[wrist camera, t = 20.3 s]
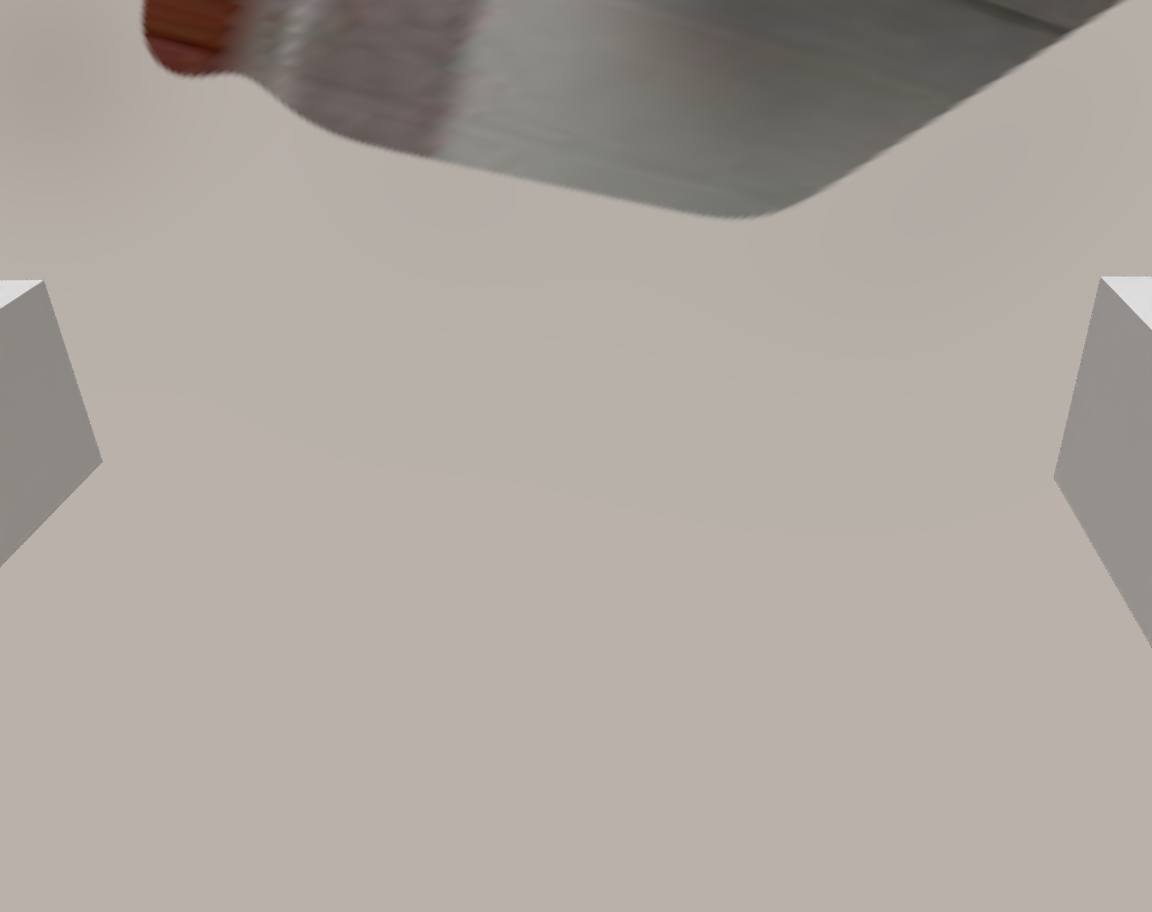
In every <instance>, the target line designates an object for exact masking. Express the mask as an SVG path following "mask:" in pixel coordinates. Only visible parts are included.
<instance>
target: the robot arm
mask: <svg viewBox="0 0 1152 912" xmlns="http://www.w3.org/2000/svg"><path fill="white" fill-rule="evenodd" d="M101 463H102V458H101V455H100V452H99V449H98V446H97V443H96V440H95V437H94V434H93V431H92V428H91V424H90V421H89V418H88V415H87V412H86V409H85V406H84V403H83V400H82V397H81V394H80V391H79V387H78V384H77V381H76V378H75V375H74V372H73V369H72V366H71V363H70V360H69V356H68V353H67V350H66V347H65V344H64V341H63V338H62V335H61V332H60V329H59V326H58V322H57V319H56V317H55V313H54V310H53V307H52V304H51V301H50V298H49V295H48V292H47V289H46V286H45V283H44V280H0V567H1V566H2V565H3V564H4V563H5V562H6V561H7V560H8V558H9V557H10V556H11V555H12V554H13V553H14V552H15V551H16V550H17V549H18V548H19V547H20V546H21V545H22V544H23V543H24V542H25V541H26V540H27V539H28V538H29V537H30V536H31V535H32V534H33V533H34V532H35V531H36V530H37V529H38V528H39V526H41V525H42V524H43V522H44V521H45V520H46V519H47V518H48V517H49V516H50V515H51V514H52V513H53V512H54V511H55V510H56V509H57V508H58V507H59V506H60V505H61V504H62V503H63V502H64V501H65V500H66V499H67V498H68V497H69V496H70V495H71V494H72V493H73V492H74V491H75V490H76V489H77V488H78V486H79V485H80V484H81V483H82V482H83V481H84V480H85V479H86V478H87V477H88V476H89V475H90V474H91V473H92V472H93V471H94V470H95V469H96V468H97V467H98V466H99V465H100V464H101ZM1054 479H1055V481H1056V483H1057V485H1058V486H1059V488H1060V490H1061V492H1062V493H1063V495H1064V497H1065V498H1066V500H1067V502H1068V504H1069V505H1070V507H1071V509H1072V511H1073V512H1074V514H1075V516H1076V517H1077V519H1078V521H1079V522H1080V524H1081V526H1082V528H1083V529H1084V531H1085V533H1086V535H1087V536H1088V538H1089V540H1090V542H1091V543H1092V545H1093V547H1094V549H1095V550H1096V552H1097V553H1098V555H1099V557H1100V559H1101V561H1102V562H1103V564H1104V566H1105V568H1106V569H1107V571H1108V573H1109V575H1110V576H1111V578H1112V580H1113V581H1114V583H1115V585H1116V587H1117V588H1118V590H1119V592H1120V593H1121V595H1122V597H1123V599H1124V600H1125V602H1126V604H1127V605H1128V607H1129V609H1130V611H1131V613H1132V614H1133V616H1134V618H1135V620H1136V621H1137V623H1138V625H1139V626H1140V628H1141V630H1142V631H1143V633H1144V635H1145V637H1146V639H1147V640H1148V642H1149V644H1150V645H1151V647H1152V277H1101V278H1100V281H1099V286H1098V290H1097V294H1096V298H1095V303H1094V307H1093V312H1092V315H1091V320H1090V325H1089V328H1088V333H1087V337H1086V341H1085V346H1084V350H1083V354H1082V359H1081V363H1080V367H1079V371H1078V375H1077V380H1076V384H1075V389H1074V393H1073V397H1072V401H1071V406H1070V410H1069V414H1068V419H1067V423H1066V427H1065V431H1064V435H1063V440H1062V444H1061V448H1060V453H1059V457H1058V461H1057V466H1056V470H1055V474H1054Z"/></svg>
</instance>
